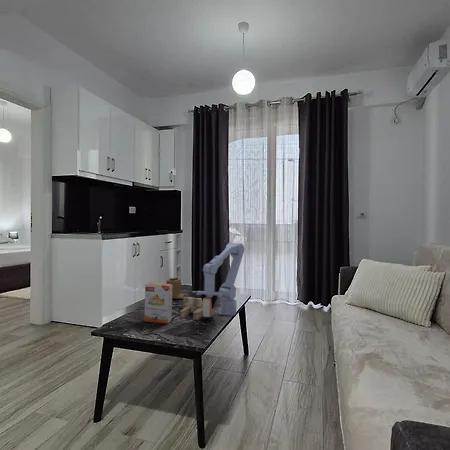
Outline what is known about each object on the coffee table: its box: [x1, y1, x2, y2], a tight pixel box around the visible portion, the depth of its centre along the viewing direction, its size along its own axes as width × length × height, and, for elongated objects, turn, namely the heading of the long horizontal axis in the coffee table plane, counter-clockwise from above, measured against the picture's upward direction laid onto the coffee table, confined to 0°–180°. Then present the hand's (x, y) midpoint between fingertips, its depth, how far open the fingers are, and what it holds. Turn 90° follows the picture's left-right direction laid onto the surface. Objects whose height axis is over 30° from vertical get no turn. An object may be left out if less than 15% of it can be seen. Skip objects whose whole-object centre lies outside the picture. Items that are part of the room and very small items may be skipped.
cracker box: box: [143, 282, 173, 325], centre depth 177 cm, size 14×6×21 cm, turn 79°
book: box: [202, 295, 216, 318], centre depth 184 cm, size 4×10×10 cm, turn 165°
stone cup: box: [165, 276, 189, 300], centre depth 230 cm, size 15×12×15 cm
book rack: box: [179, 296, 204, 321], centre depth 189 cm, size 16×14×9 cm
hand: (209, 308), depth 184 cm, fingers closed on book, 4 cm apart
